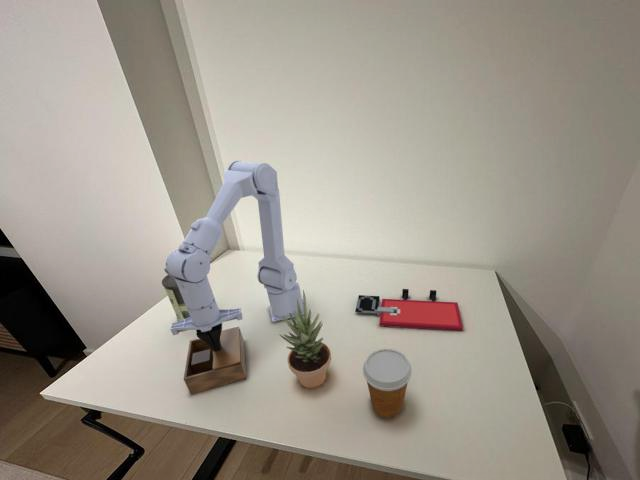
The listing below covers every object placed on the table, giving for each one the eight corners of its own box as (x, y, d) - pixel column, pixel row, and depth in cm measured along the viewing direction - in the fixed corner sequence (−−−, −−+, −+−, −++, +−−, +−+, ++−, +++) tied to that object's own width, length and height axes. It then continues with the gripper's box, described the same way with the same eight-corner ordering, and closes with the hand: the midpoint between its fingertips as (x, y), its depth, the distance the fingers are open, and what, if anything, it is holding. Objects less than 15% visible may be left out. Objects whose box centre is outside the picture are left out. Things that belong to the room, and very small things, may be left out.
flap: (239, 327, 82) (238, 326, 82) (240, 362, 72) (240, 361, 72) (215, 333, 81) (214, 332, 81) (212, 370, 70) (212, 368, 70)
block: (215, 360, 79) (210, 348, 77) (214, 372, 76) (209, 360, 74) (197, 365, 78) (192, 353, 76) (196, 377, 75) (190, 365, 73)
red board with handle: (359, 294, 102) (352, 325, 90) (359, 286, 101) (352, 317, 88) (455, 298, 99) (462, 331, 86) (456, 291, 97) (463, 324, 85)
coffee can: (222, 307, 99) (209, 268, 92) (202, 329, 91) (186, 288, 83) (193, 304, 101) (178, 266, 94) (170, 325, 93) (152, 285, 85)
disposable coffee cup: (362, 388, 71) (360, 349, 65) (404, 384, 72) (406, 344, 65) (366, 427, 63) (364, 387, 57) (414, 423, 63) (417, 382, 57)
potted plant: (316, 402, 68) (300, 311, 56) (283, 384, 73) (262, 296, 60) (342, 370, 76) (333, 283, 63) (311, 356, 80) (297, 272, 67)
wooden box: (244, 342, 85) (239, 328, 83) (246, 378, 75) (241, 363, 72) (195, 355, 82) (189, 340, 79) (190, 394, 71) (183, 379, 69)
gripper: (159, 321, 63) (182, 369, 70) (236, 304, 67) (250, 351, 74) (165, 302, 69) (186, 347, 76) (235, 287, 73) (248, 332, 80)
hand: (217, 348), depth 76 cm, fingers closed, pressing on flap
